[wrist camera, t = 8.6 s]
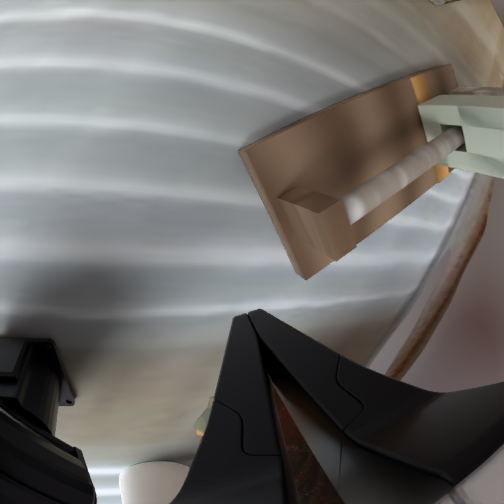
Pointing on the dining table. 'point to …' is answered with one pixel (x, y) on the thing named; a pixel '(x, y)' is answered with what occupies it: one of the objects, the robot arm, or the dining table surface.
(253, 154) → the rod stand
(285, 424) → the vessel
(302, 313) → the dining table surface
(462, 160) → the sleeve
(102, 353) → the dining table surface
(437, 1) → the coffee box
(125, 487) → the base with upright slab
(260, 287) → the dining table surface
